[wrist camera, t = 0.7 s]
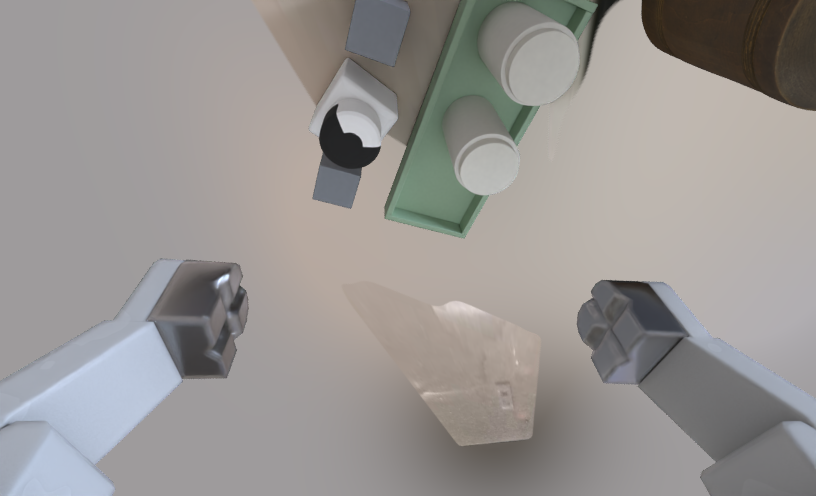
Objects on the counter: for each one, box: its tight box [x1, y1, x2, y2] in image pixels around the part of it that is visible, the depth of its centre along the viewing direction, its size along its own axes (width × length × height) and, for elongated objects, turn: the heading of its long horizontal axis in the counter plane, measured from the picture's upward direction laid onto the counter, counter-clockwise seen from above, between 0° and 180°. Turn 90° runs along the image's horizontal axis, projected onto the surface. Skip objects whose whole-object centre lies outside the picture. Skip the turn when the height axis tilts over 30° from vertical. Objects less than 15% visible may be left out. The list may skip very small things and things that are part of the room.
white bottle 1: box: [442, 95, 520, 195], centre depth 42 cm, size 7×7×12 cm
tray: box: [385, 0, 598, 238], centre depth 46 cm, size 32×13×3 cm, turn 161°
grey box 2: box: [345, 0, 410, 67], centre depth 37 cm, size 5×5×6 cm
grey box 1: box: [313, 152, 362, 209], centre depth 48 cm, size 5×5×6 cm
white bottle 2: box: [477, 2, 580, 106], centre depth 36 cm, size 7×7×12 cm
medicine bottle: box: [309, 58, 398, 169], centre depth 41 cm, size 7×7×12 cm
